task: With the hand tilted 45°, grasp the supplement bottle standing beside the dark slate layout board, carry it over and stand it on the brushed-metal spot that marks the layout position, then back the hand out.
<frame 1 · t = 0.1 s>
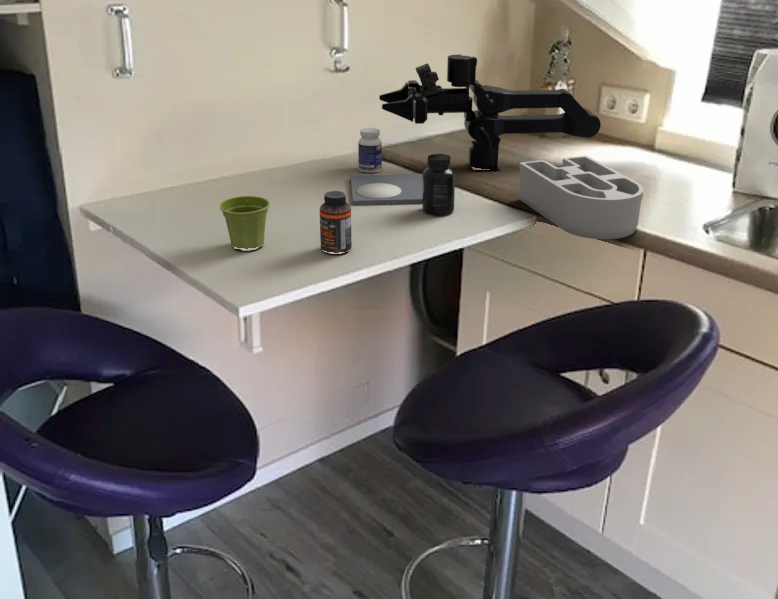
hand: (380, 102, 203), 17 cm above the table, tool horizontal, fingers open, 9 cm apart
supplement bottle 2: (336, 251, 165), on the table
layout board: (400, 190, 196), on the table
pill bottle: (370, 170, 210), on the table
plant pot: (248, 247, 166), on the table
grey compartment organizer: (581, 217, 182), on the table
supplement bottle: (437, 212, 184), on the table
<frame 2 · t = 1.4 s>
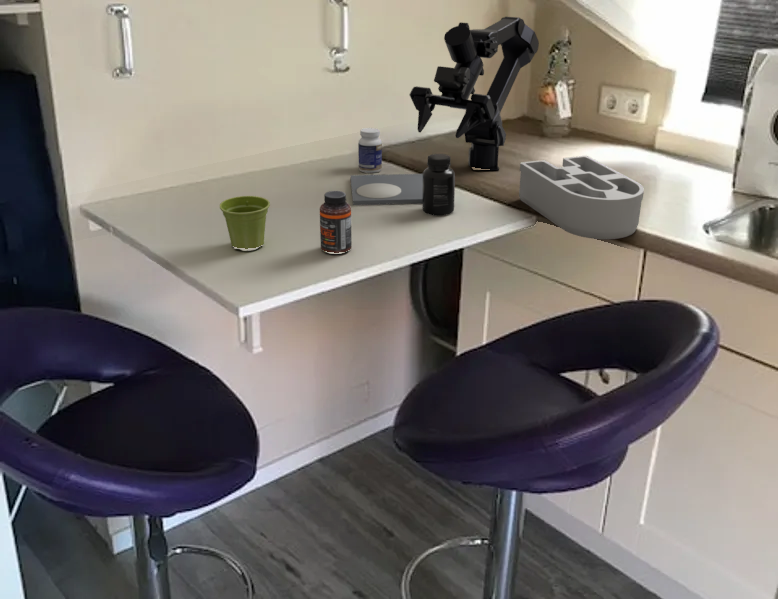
hand: (437, 134, 186), 14 cm above the table, tool tilted 50°, fingers open, 9 cm apart
nothing on the table moved.
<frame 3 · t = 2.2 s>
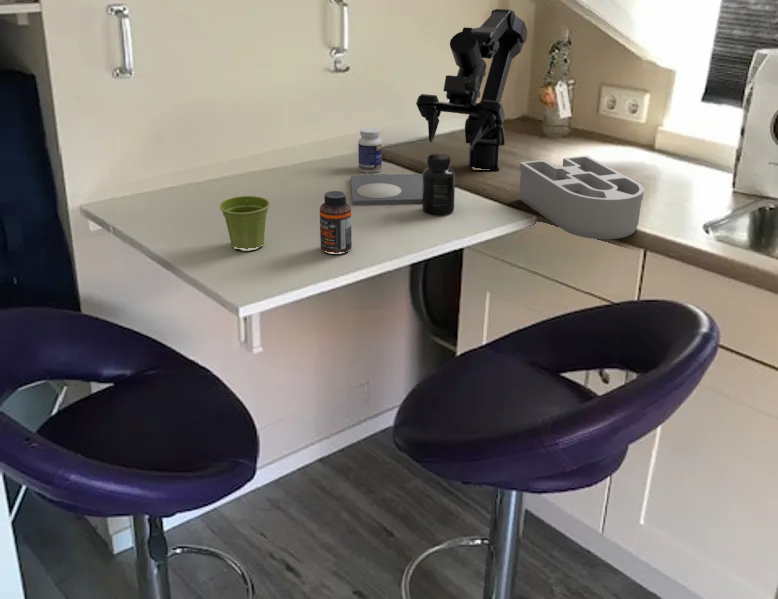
hand: (450, 143, 184), 13 cm above the table, tool tilted 45°, fingers open, 9 cm apart
nothing on the table moved.
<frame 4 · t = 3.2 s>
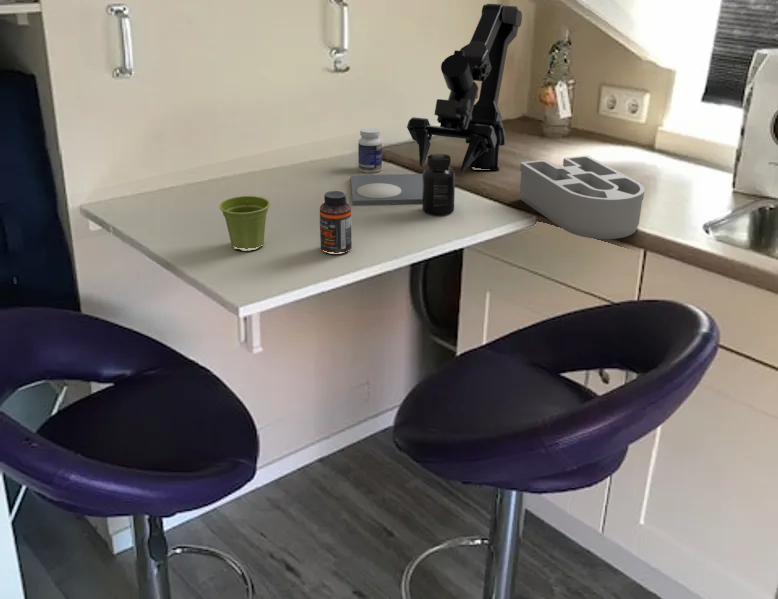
hand: (441, 167, 181), 9 cm above the table, tool tilted 45°, fingers open, 9 cm apart
nothing on the table moved.
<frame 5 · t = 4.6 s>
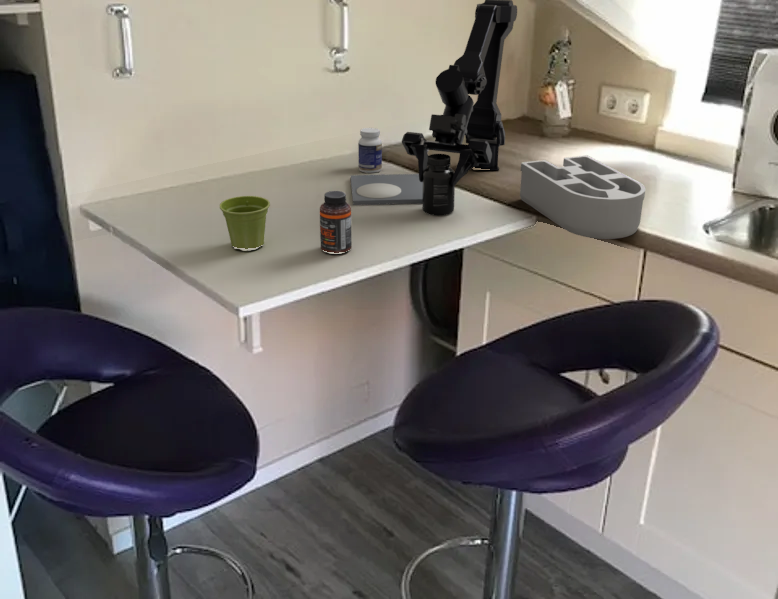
hand: (436, 183, 180), 7 cm above the table, tool tilted 45°, fingers closed on supplement bottle, 7 cm apart
supplement bottle: (437, 211, 184), on the table, touching gripper
everything else where it was.
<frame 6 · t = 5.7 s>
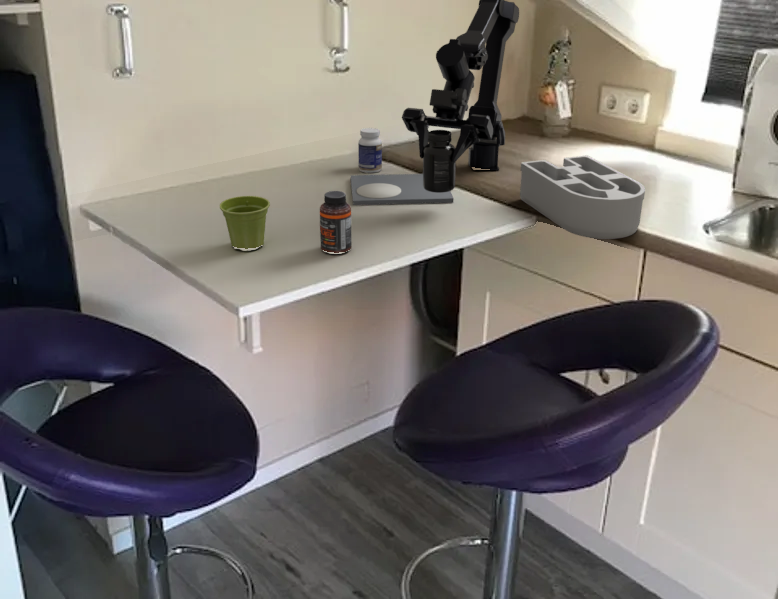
hand: (437, 159, 178), 12 cm above the table, tool tilted 45°, fingers closed on supplement bottle, 7 cm apart
supplement bottle: (438, 189, 182), point 5 cm above the table, touching gripper
everything else where it was.
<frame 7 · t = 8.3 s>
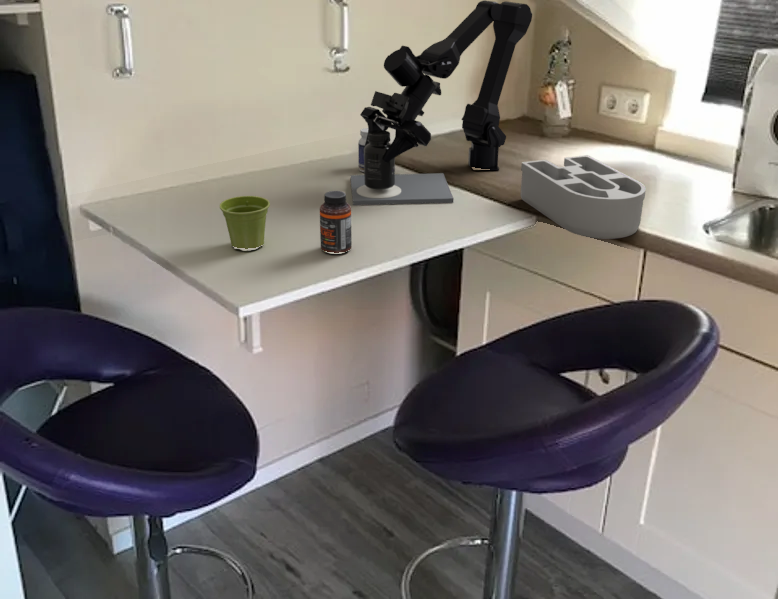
hand: (374, 157, 189), 9 cm above the table, tool tilted 45°, fingers closed on supplement bottle, 7 cm apart
supplement bottle: (379, 186, 192), point 2 cm above the table, touching gripper
everything else where it was.
when the fingers open (9 cm above the table, at t = 9.3 s): supplement bottle stays where it is, resting on layout board.
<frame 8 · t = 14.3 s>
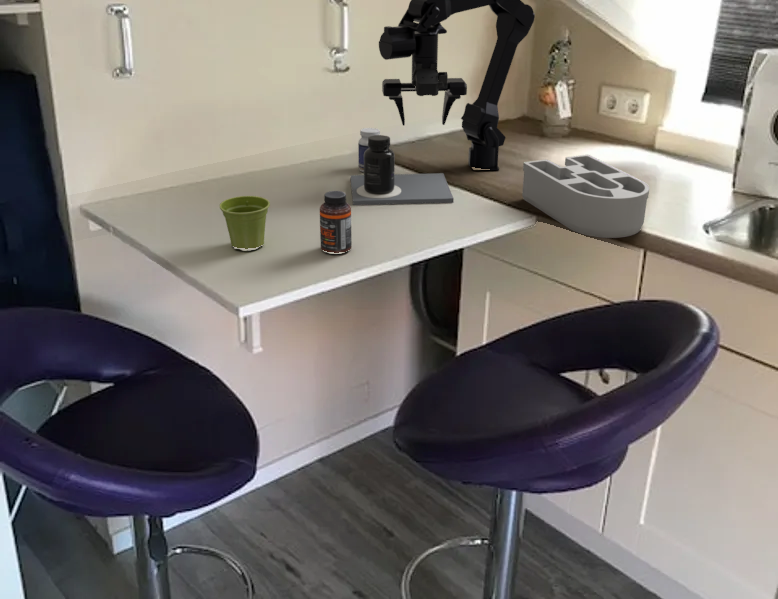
hand: (423, 124, 198), 13 cm above the table, tool pointing down, fingers open, 9 cm apart
supplement bottle: (379, 191, 193), point 1 cm above the table, touching layout board
at the end: supplement bottle 0.1 cm from the target spot, point 1.0 cm above the table; supplement bottle tilted 0°; the gripper is holding nothing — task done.
